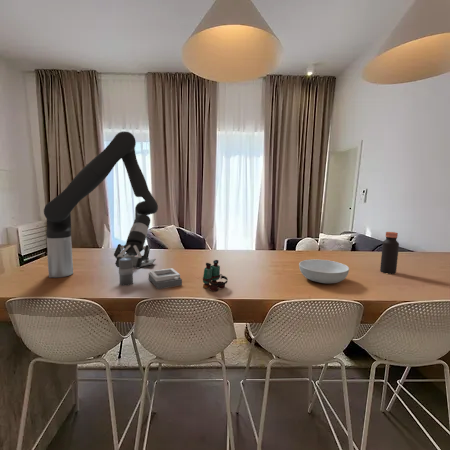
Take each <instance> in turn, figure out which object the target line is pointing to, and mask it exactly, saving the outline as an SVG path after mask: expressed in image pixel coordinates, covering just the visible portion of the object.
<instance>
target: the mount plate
mask: <svg viewBox="0 0 450 450" xmlns="http://www.w3.org/2000/svg"><path fill="white" fill-rule="evenodd" d="M148 280H149V281H150V282H151V283H152V284H153V286H155V288H156V289H157V290H161V289H166V288H172V287H179V286H182V285H183V279H182V278H181V273H179V272H178V271H177V270H176V269H174V268H172V267H171V268H163V269H156V270H149V272H148Z"/></svg>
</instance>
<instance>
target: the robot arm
mask: <svg viewBox="0 0 450 450" xmlns="http://www.w3.org/2000/svg"><path fill="white" fill-rule="evenodd" d="M136 144H137V142H136V138H135V136H134V134H133V133H132V132H130V131H127V130H124V131H120V132H118V133H117V134H115V136H114V137H113V139H112V140H111V141H110V142H109V144H108V145H107V146H106V147H105V148H104V149H103V150H102V151H101V152H100V153H98V154H97V155H96V156H95V157H94V158H93V159H92V160H90V162H88V163H86V165H85V166H84V167H83V168H82V169H81V170H80V171H79V172H78V173H77V174H76V175H75V176H74V178H73V179H72V180H71V181H70V182H69V184H68V185H67V187H66V188H65V189H64V190H63V191H61V193H59V194H58V195H57V196H56V197H55V198H53V199H52V200H50V201H49V202H47V203H46V204H45V206H44V208H43V215H44V217H45V218H46V232H45V233H46V245H47V268H48V269H47V270H48V272H47V273H48V278H65V277H68V276H71V275H73V274H74V263H73V245H72V244H73V243H72V242H73V241H72V219H71V217H72V215H71V213H72V211H73V209H74V208H76V207H77V205H78V204H79V203H80V202H81V200H83V199H84V198H86V197H87V196H88V195H89V194H90V193H92V192H93V191H94V190H95V189H97V188H98V187H99V186H100V184H101V183H102V182H104V180H106V178H107V177H108V175H110V173H111V171H112V170H113V169H114V167H115V166H116V164H117V163H118V162H119V161H120V160H122V162H123V165H124V166H125V169H126V173H127V176H128V179H129V183H130V186H131V189H132V191H133V195H134V196H135V197H136V198H142V199H143V200H142V201H139V202H138V203H137V204H136V205H135V208H134V209H135V210H134V216H135V217H134V220H133V224H132V225H131V228H130V230H129V233H128V236H127V239H126V243H125V244H124V245H122V244H121V243H119V244H117V246H116V249H115V251H114V252H113V256H114V258H115V259H116V260H115V263H114V264H115V266H116V267H117V268H119V260H120V259H122V258H124V257H127V256H128V255H130V256H131V255H134V256H136V255H138V256H139V258H138V260H137V264H136V269H140V268H142V267H141V264H142V262H143V260H147V259H148V258H149V254H150V251H151V248H150V246H149V245H148V244H146V245H145V243H146V240H147V236H148V232H149V227H150V223H151V218H150V216H149V215H153V214H156V213H157V212H158V210H159V206H158V202H157V201H156V199H155V197H154V196H153V194H152V193H151V191H150V190H149V187H148V183H147V181H146V178H145V176H144V173H143V172H142V169H141V167H140V165H139V163H138V159H137V155H136V150H135V149H136V148H135V147H136ZM141 252H144V253H143V255H142V254H141Z"/></svg>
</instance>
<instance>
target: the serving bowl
mask: <svg viewBox="0 0 450 450" xmlns="http://www.w3.org/2000/svg"><path fill="white" fill-rule="evenodd" d="M298 266H299V267H298V268H299V270H300V273H301V274H302V276H304V277H305V279H307V280H309V281H313V282H315V283H320V284H336V283H341V282H342V281H343V280H345V279H346V278H347V277H348V275H349V273H350V272H349V271H350V267H349V266H348V265H346V264H345V263H341V262H339V261H333V260H329V259H316V258H315V259H305V260H301V261H300V262H299V263H298Z"/></svg>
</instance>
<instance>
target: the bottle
mask: <svg viewBox="0 0 450 450" xmlns="http://www.w3.org/2000/svg"><path fill="white" fill-rule="evenodd" d="M398 237H399V235H398V232H395V231H386V232H385V239H384V240H383V241H382V248H381V255H380V256H381V257H380V266H379V267H380V268H379V271H380V272H381V273H382V272H384V273H383V274H386V273H388V274H387V275H396V274H395V273H397V267H398V260H399V259H398V257H399V249H400V248H399V247H400V244H399V241H398Z"/></svg>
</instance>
